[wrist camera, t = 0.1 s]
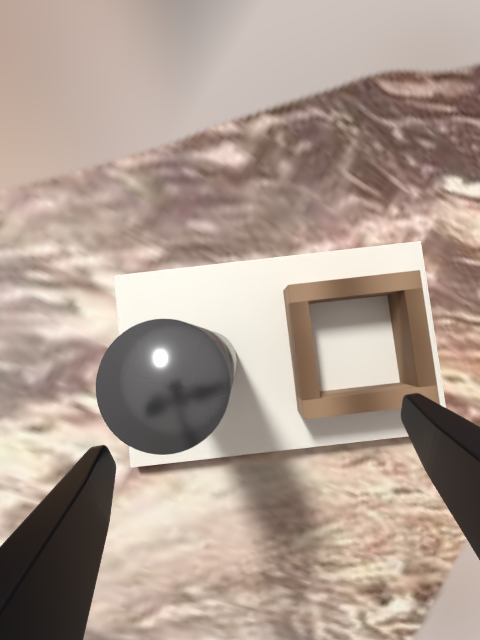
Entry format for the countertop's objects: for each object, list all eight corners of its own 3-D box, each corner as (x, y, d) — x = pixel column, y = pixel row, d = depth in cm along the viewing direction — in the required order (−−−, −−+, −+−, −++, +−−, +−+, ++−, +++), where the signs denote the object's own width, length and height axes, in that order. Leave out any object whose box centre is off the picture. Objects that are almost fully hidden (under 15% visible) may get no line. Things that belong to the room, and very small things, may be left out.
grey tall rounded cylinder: (249, 365, 23) (257, 397, 10) (201, 403, 23) (150, 483, 10) (212, 318, 24) (175, 291, 11) (164, 355, 24) (68, 374, 11)
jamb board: (413, 245, 25) (420, 241, 24) (440, 427, 24) (449, 431, 23) (118, 278, 25) (113, 275, 24) (135, 462, 24) (130, 467, 23)
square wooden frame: (401, 277, 24) (420, 270, 21) (418, 397, 23) (440, 404, 21) (282, 290, 24) (287, 284, 21) (297, 410, 23) (304, 419, 21)
